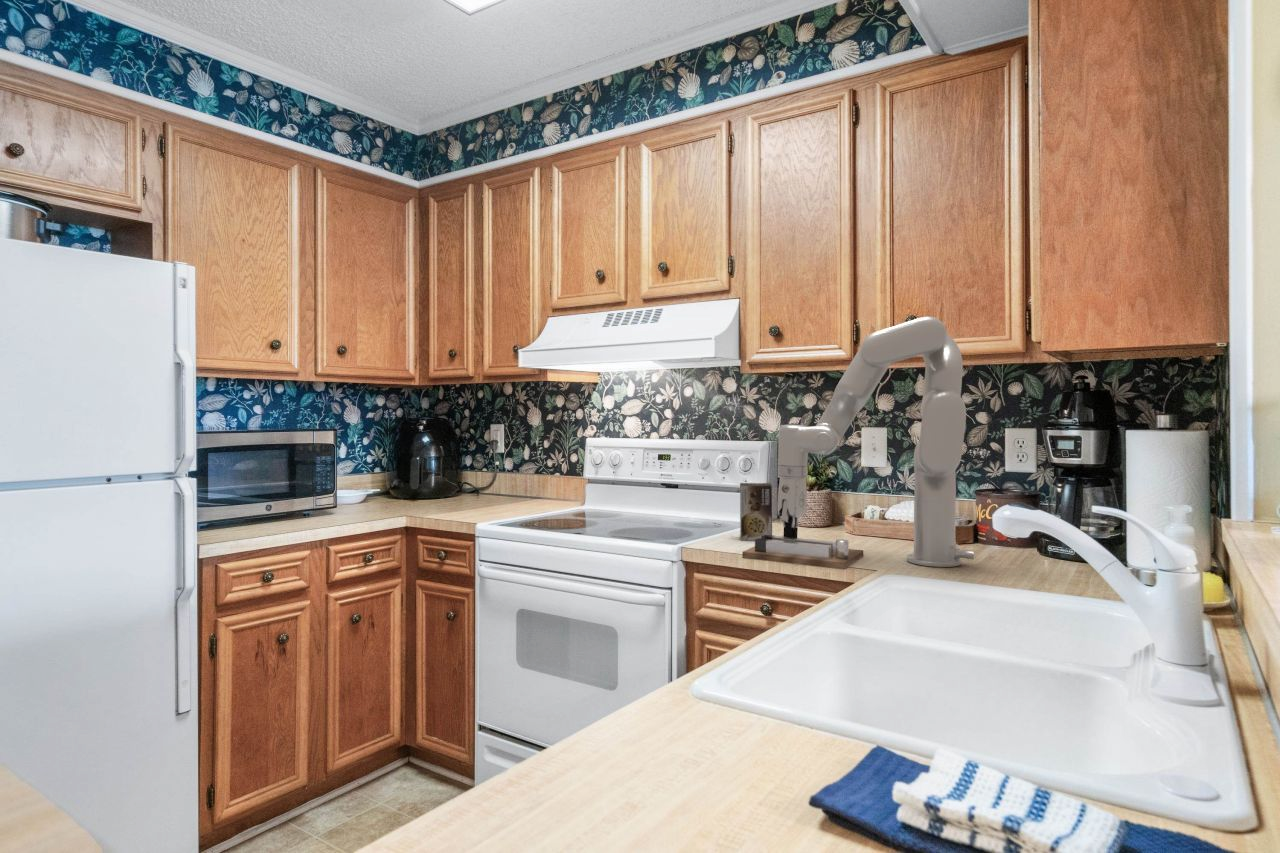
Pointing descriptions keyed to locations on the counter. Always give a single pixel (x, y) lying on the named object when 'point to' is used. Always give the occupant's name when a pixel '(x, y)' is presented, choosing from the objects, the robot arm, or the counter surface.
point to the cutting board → (805, 558)
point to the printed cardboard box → (755, 510)
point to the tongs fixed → (802, 548)
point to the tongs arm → (833, 544)
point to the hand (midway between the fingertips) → (790, 542)
